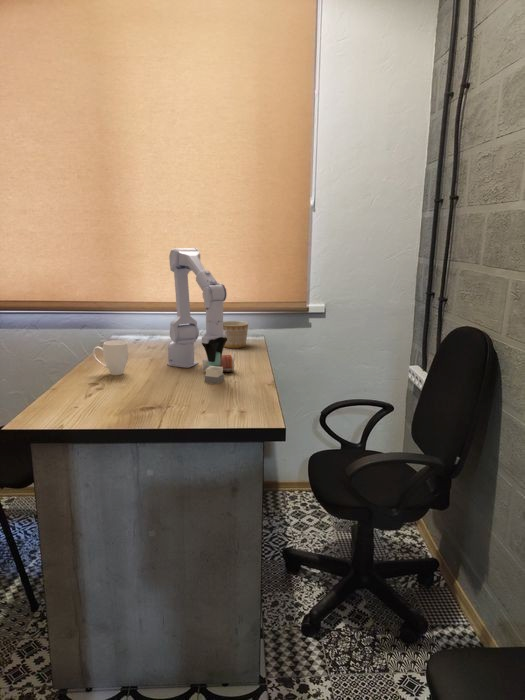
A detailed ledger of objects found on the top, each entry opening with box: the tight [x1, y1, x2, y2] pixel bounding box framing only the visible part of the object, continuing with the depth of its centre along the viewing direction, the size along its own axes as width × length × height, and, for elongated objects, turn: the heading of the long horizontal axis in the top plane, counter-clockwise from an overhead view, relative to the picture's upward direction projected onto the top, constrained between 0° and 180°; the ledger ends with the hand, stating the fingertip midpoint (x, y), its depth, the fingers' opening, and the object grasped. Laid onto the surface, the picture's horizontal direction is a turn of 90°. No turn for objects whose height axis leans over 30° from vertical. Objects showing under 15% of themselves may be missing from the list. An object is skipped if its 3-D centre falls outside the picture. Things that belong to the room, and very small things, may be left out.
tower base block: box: [204, 373, 225, 385], centre depth 173 cm, size 5×5×2 cm
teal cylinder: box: [209, 352, 220, 366], centre depth 171 cm, size 4×4×4 cm
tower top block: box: [205, 366, 224, 377], centre depth 172 cm, size 4×4×2 cm
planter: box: [223, 320, 249, 349], centre depth 225 cm, size 13×13×10 cm
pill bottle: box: [202, 354, 235, 373], centre depth 184 cm, size 6×6×11 cm
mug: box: [92, 339, 129, 376], centre depth 177 cm, size 12×8×11 cm
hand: (214, 360), depth 171 cm, fingers closed on teal cylinder, 4 cm apart
